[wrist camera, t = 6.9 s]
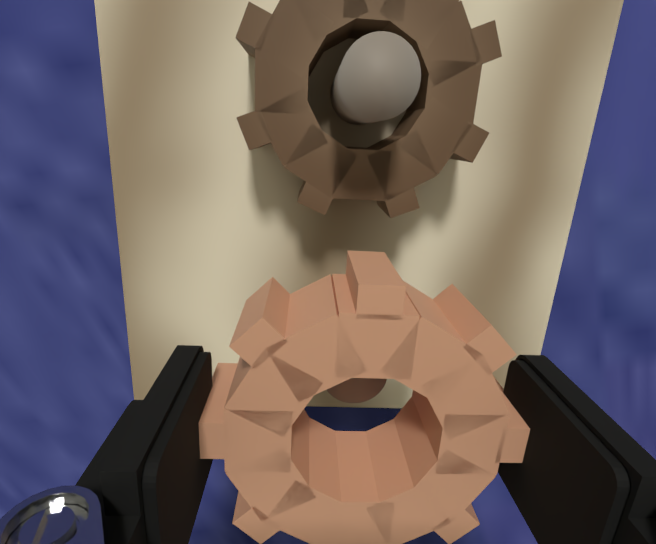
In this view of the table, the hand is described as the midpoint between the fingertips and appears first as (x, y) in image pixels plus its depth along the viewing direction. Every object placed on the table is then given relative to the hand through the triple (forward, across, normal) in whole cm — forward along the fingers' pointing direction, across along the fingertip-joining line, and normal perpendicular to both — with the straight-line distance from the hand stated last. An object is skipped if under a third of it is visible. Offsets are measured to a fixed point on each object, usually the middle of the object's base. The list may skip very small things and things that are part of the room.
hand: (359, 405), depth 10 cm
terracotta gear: (+1, 0, 0) cm, 1 cm away
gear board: (+8, 0, -4) cm, 9 cm away
